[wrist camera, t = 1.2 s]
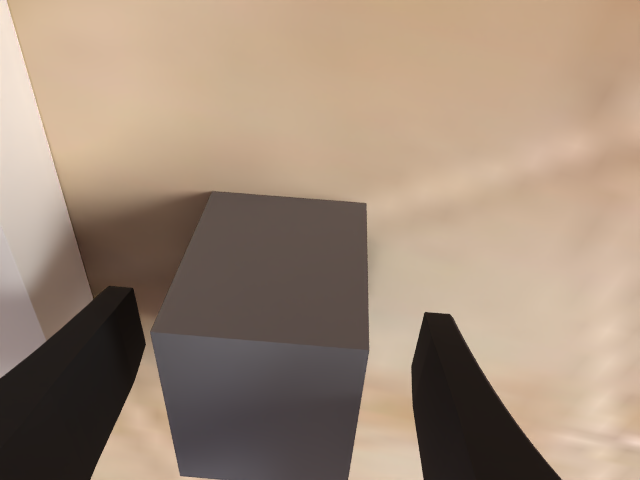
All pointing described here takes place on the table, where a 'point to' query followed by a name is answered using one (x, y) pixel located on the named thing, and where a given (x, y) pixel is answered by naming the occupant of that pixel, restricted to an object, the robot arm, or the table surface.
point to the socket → (31, 220)
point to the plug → (267, 339)
